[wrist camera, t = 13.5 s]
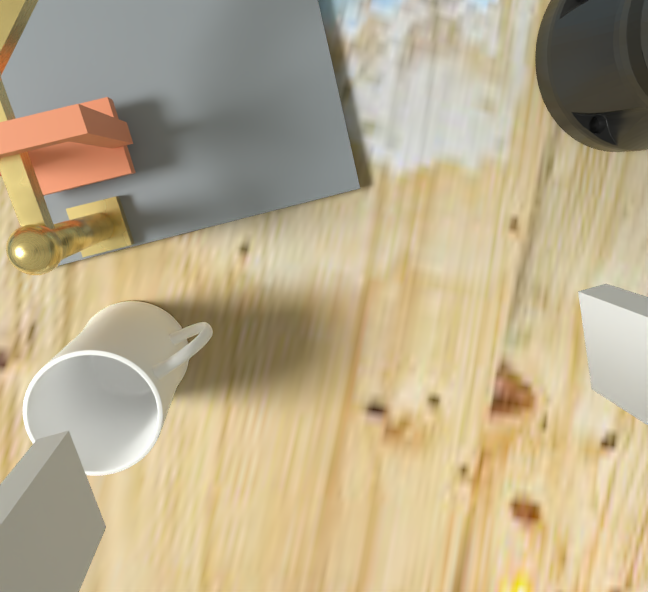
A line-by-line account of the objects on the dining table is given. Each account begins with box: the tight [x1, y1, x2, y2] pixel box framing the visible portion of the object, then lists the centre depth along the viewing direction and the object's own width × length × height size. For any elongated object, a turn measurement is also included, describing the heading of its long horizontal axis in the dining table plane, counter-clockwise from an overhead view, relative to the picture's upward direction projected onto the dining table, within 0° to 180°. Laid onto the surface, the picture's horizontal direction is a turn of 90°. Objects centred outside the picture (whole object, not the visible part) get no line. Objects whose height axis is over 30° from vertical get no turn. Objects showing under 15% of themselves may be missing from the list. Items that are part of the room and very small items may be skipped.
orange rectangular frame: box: [0, 97, 136, 196], centre depth 33 cm, size 5×9×12 cm, turn 104°
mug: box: [23, 301, 213, 476], centre depth 40 cm, size 12×8×12 cm
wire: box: [0, 0, 134, 275], centre depth 34 cm, size 15×17×14 cm
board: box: [1, 0, 360, 265], centre depth 41 cm, size 25×20×1 cm
